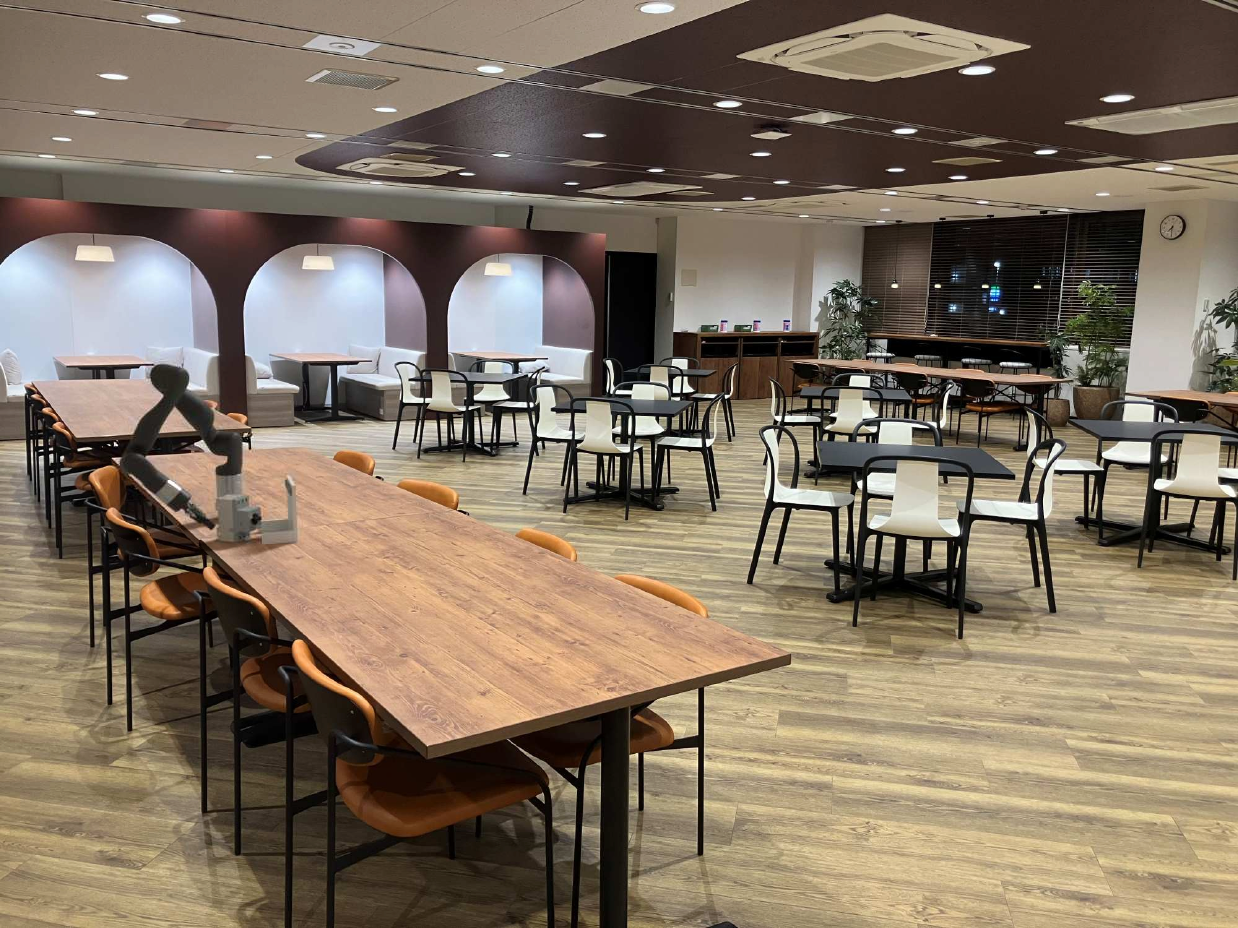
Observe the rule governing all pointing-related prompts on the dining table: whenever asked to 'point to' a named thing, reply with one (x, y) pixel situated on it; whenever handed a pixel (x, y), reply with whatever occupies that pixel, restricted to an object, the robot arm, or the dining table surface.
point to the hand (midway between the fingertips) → (213, 527)
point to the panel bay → (282, 521)
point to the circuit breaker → (236, 518)
